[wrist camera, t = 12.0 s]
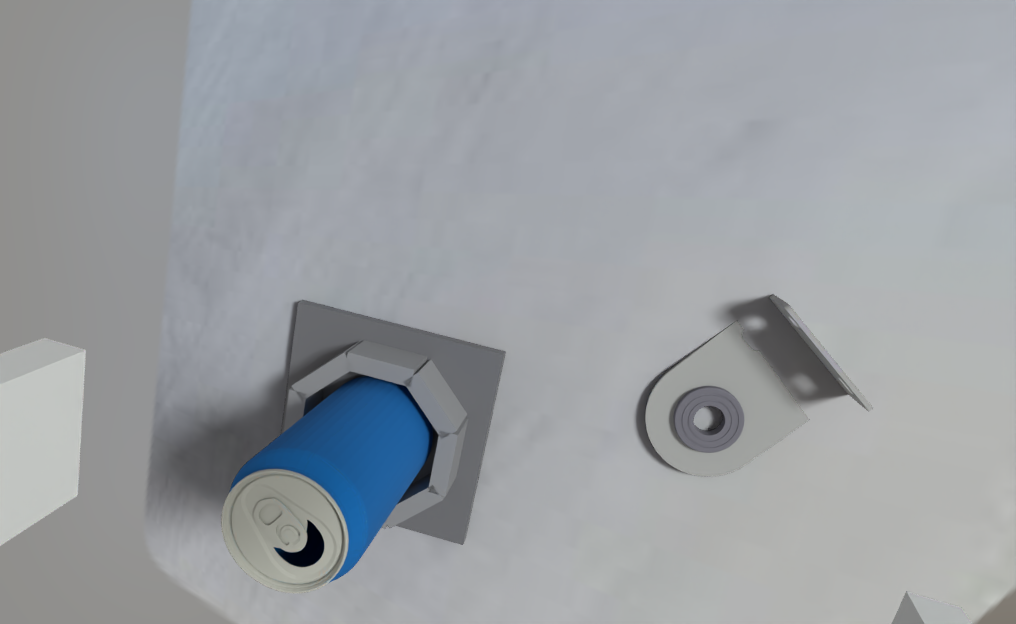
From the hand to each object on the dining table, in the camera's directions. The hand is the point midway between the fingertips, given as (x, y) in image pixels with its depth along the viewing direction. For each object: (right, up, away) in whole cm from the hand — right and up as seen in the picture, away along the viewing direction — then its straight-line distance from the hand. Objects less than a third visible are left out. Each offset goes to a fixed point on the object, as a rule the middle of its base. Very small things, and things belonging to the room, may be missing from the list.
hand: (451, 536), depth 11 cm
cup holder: (-6, -3, +31) cm, 32 cm away
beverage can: (-6, -3, +31) cm, 31 cm away
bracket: (+14, -1, +27) cm, 31 cm away
